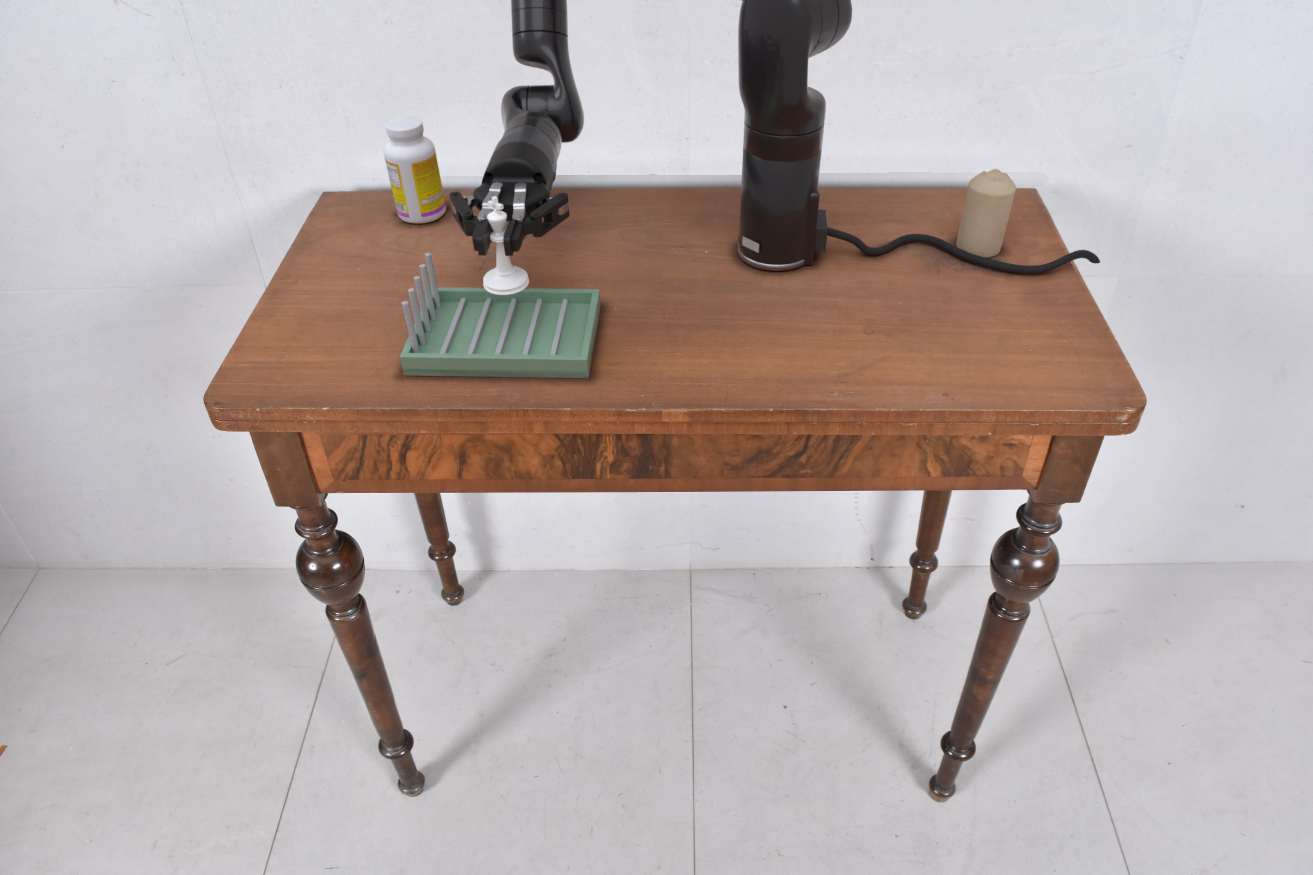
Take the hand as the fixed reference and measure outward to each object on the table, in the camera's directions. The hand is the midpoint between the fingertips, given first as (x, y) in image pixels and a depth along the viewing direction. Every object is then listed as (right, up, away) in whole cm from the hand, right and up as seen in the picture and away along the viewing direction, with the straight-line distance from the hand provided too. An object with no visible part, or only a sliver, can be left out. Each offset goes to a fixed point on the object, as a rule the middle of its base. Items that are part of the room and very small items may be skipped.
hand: (494, 247), depth 94 cm
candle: (+58, +5, +25) cm, 63 cm away
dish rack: (0, -8, +11) cm, 14 cm away
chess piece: (0, -3, +6) cm, 7 cm away
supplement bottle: (-16, +12, +34) cm, 40 cm away
